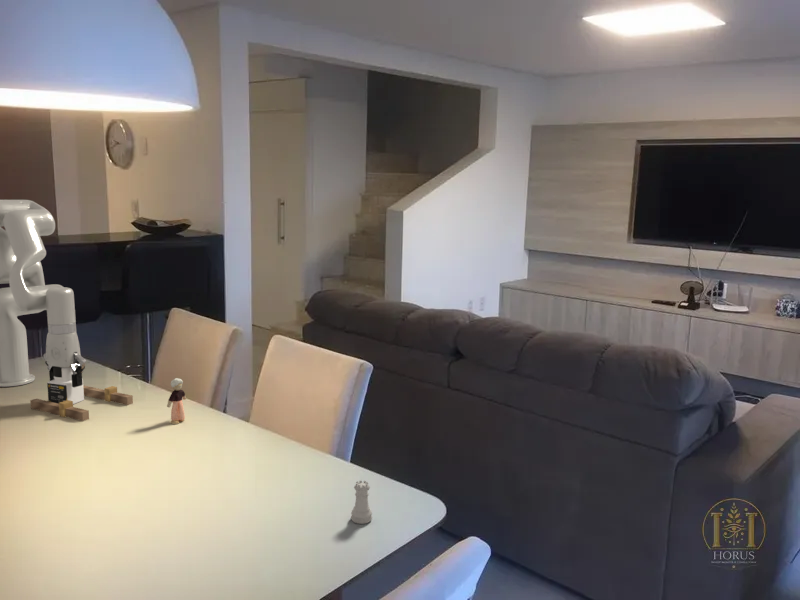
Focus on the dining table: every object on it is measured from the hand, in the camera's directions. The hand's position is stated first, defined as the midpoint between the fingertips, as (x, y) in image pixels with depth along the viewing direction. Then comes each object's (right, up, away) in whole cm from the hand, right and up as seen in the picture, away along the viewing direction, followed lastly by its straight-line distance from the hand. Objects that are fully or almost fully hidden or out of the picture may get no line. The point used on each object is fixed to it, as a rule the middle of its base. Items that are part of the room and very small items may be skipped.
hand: (66, 384), depth 209 cm
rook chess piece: (+93, -20, -67) cm, 117 cm away
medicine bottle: (0, -6, +1) cm, 6 cm away
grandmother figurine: (+38, -9, -13) cm, 41 cm away
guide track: (+6, -6, -2) cm, 9 cm away
